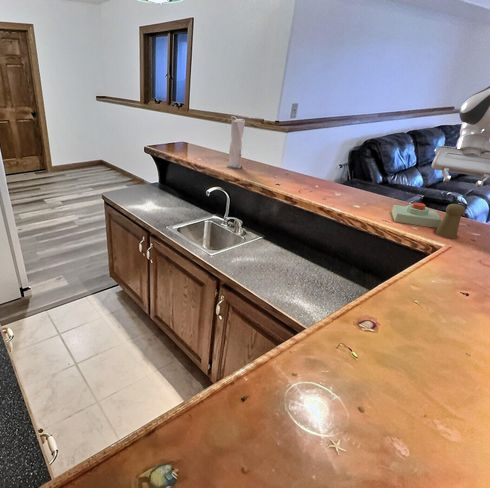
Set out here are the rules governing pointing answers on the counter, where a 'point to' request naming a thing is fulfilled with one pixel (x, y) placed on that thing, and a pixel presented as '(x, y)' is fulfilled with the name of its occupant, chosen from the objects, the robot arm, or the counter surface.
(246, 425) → the counter surface
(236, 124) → the skyscraper
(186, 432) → the counter surface
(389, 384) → the counter surface
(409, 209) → the button base
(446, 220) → the cork
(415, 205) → the release button
